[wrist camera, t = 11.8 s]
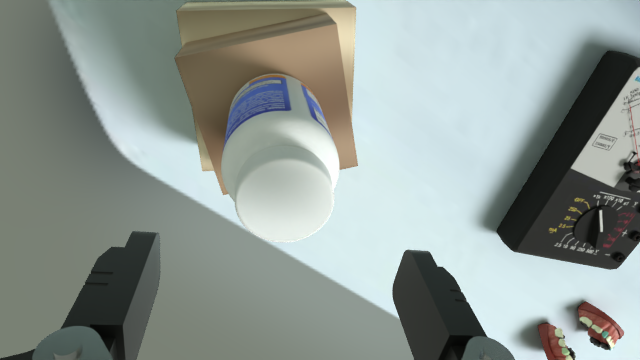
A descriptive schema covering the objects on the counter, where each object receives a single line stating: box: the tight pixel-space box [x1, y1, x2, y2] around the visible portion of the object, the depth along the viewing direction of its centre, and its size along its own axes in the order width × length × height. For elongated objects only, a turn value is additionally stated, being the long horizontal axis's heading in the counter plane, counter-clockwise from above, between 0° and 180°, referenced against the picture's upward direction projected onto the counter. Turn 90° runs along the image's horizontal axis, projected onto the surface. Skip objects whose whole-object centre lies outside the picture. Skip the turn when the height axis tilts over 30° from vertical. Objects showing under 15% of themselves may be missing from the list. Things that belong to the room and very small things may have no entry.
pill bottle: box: [221, 74, 339, 242], centre depth 21 cm, size 5×5×10 cm
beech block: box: [176, 0, 356, 171], centre depth 30 cm, size 11×11×4 cm
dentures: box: [538, 302, 624, 360], centre depth 50 cm, size 6×5×9 cm
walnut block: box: [175, 13, 358, 195], centre depth 26 cm, size 9×9×4 cm
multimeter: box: [497, 51, 640, 269], centre depth 38 cm, size 13×19×5 cm
